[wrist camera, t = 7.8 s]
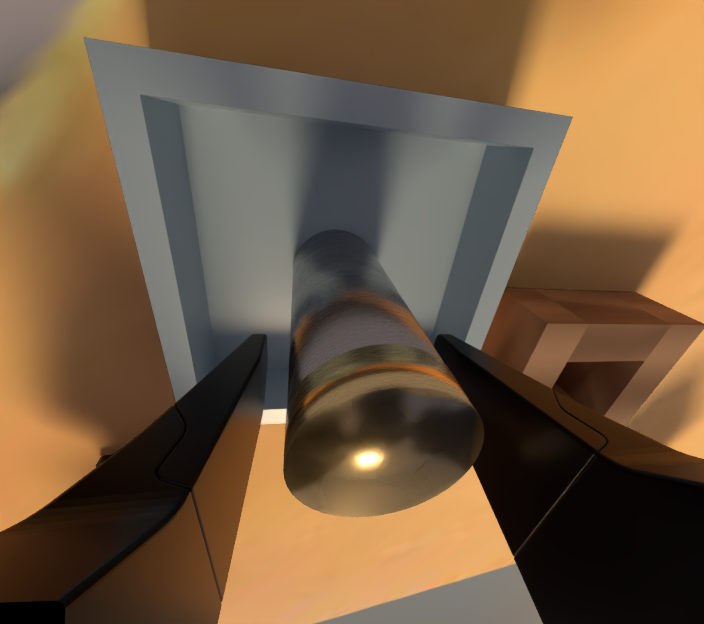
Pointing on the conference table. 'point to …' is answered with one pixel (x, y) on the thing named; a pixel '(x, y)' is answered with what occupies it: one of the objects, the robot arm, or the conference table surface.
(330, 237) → the steel pin
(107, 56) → the tray
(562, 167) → the conference table surface
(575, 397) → the socket block
